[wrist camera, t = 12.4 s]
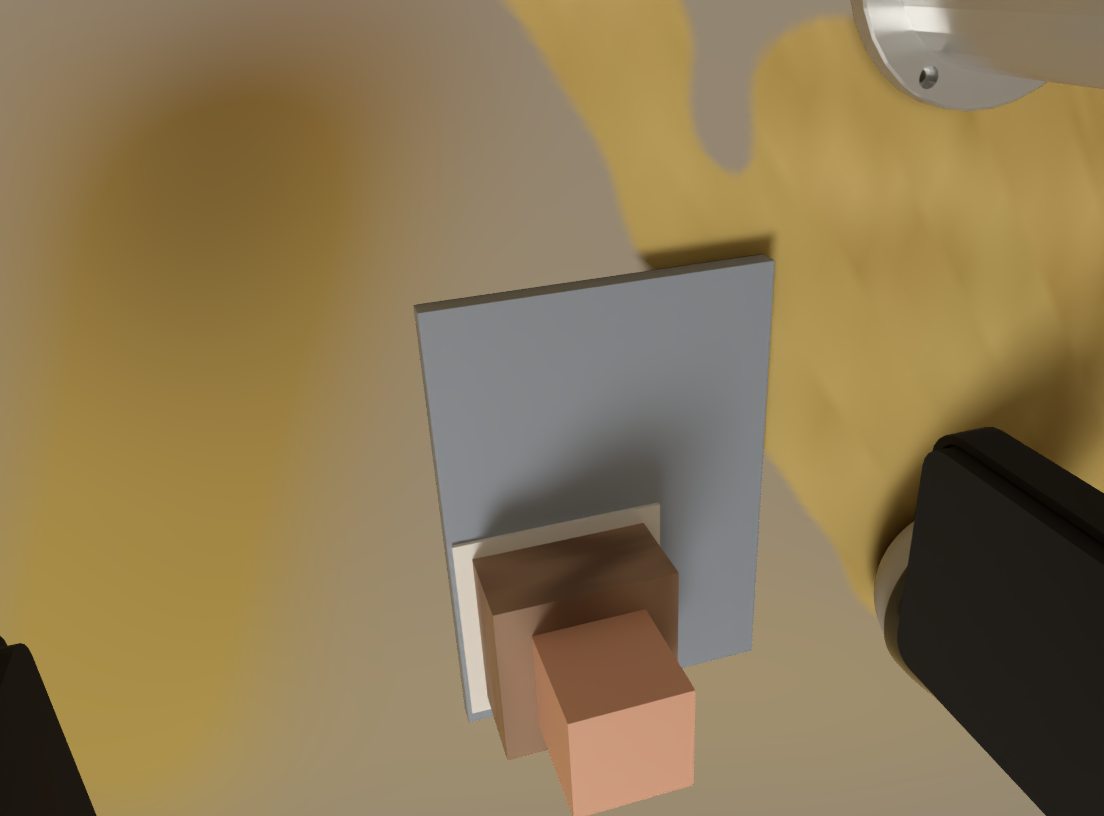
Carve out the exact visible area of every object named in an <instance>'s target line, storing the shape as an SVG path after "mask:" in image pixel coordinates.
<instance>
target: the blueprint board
mask: <svg viewBox="0 0 1104 816" xmlns="http://www.w3.org/2000/svg"><path fill="white" fill-rule="evenodd" d="M774 264H775V261H774V260H772V259H771V258H769V257H767V256H765V255H764V254H762V255H755V256H748V257H741V258H734V259H727V260H720V261H713V262H707V263H700V264H693V265H686V266H679V267H672V268H665V269H658V270H652V271H645V272H638V273H631V274H624V275H617V276H610V277H603V278H597V279H590V280H583V281H576V282H570V283H562V284H555V285H549V286H541V287H535V288H528V289H521V290H514V291H507V292H501V293H493V294H486V295H480V296H473V297H466V298H459V299H452V300H445V301H439V302H431V303H425V304H418V305H414V313H415V321H416V328H417V336H418V344H419V352H420V360H421V367H422V375H423V383H424V391H425V399H426V407H427V415H428V422H429V430H430V437H431V446H432V454H433V462H434V469H435V476H436V485H437V493H438V501H439V508H440V516H441V523H442V532H443V540H444V548H445V555H446V563H447V571H448V579H449V586H450V594H451V603H452V610H453V617H454V626H455V634H456V641H457V649H458V657H459V665H460V672H461V681H462V689H463V697H464V704H465V710H466V713H467V717H468V721H469V722H473V721H477V720H481V719H485V718H489V717H492V716H493V713H492V710H491V706H490V703H489V700H488V697H487V688H486V679H485V670H484V661H483V652H482V643H481V634H480V625H479V616H478V607H477V598H476V589H475V580H474V572H473V563H472V559H477V558H481V557H486V556H491V555H495V554H500V553H505V552H509V551H514V550H519V549H523V548H528V547H533V546H537V545H542V544H547V543H551V542H556V541H561V540H566V539H570V538H575V537H580V536H584V535H589V534H594V533H598V532H603V531H608V530H612V529H617V528H622V527H626V526H631V525H636V524H641V523H644V524H645V525H646V527H647V528H648V530H649V531H650V533H651V534H652V535H653V537H654V538H655V540H656V541H657V543H658V544H659V545H660V547H661V548H662V550H663V551H664V553H665V554H666V555H667V557H668V558H669V560H670V561H671V563H672V564H673V565H674V567H675V568H676V570H677V571H678V573H679V606H678V663H679V664H680V666H681V668H685V667H688V666H692V665H696V664H700V663H704V662H708V661H712V660H715V659H720V658H723V657H728V656H732V655H735V654H739V653H743V652H747V651H751V647H752V631H753V613H754V597H755V581H756V564H757V563H756V562H757V547H758V529H759V512H760V497H761V496H760V495H761V479H762V464H763V463H762V462H763V447H764V431H765V414H766V397H767V381H768V364H769V347H770V331H771V314H772V297H773V281H774Z"/></svg>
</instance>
